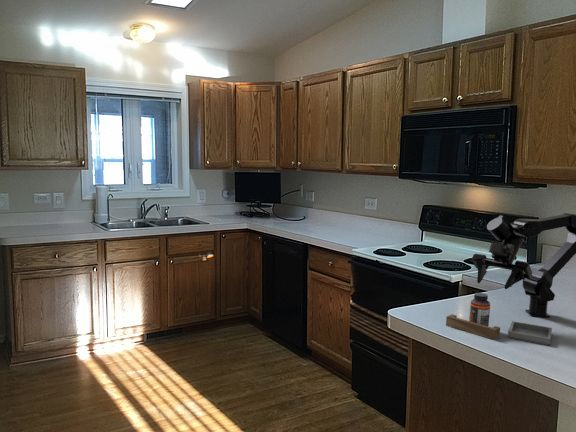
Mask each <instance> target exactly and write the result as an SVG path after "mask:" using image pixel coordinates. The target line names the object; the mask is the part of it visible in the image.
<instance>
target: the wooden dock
mask: <svg viewBox="0 0 576 432" xmlns="http://www.w3.org/2000/svg"><path fill="white" fill-rule="evenodd" d="M445 317H446V318H445V319H446V320H445V326H446V327H449V328H453V329H456V330H457V329H458V330H460V331H464V332H467V333H470V334H474V335H477V336H481V337H484V338H487V339H490V340H497V339H499V338H500V335H501V334H500V333H501V327H500V326H496V325H495V326H493V327H492V326H485V325H481V324H478V323H474V322H470V321H469V320H467V319H463V318H459V317H457V314H452V313H451V314H449V315H447V316H445ZM498 337H499V338H498Z"/></svg>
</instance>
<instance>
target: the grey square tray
mask: <svg viewBox="0 0 576 432" xmlns="http://www.w3.org/2000/svg"><path fill="white" fill-rule="evenodd" d="M552 331H553V328H552V327H548V326H543V325H538V324H530V323H525V322H520V321H519V322H518V321H514V320H512V321H511V323H510V326H509V328H508V330H507V339H508V338H509V339H512V338H513V340H517V339H519V340H518V341H523V340H524V342H528V343H529V342H530V343H533V342H534V344H539V345H544V346H551V341H552Z"/></svg>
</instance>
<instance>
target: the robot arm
mask: <svg viewBox="0 0 576 432" xmlns="http://www.w3.org/2000/svg"><path fill="white" fill-rule="evenodd" d="M564 227H565V229H566V230H567V232H568V233H567V238H566V241H565V242H564V243H563V244H562V246H561V247H560V248H559V249H557V251H556V252H555V253H554V254H553V255H552V256H551V257H550V258H549V260H548V261H546V263H545V264H544V265H543V266H542V267H541V268H540V269H534V268H531V265H530V264H529V263H530V262H527V261H523V260H522V261H521V260H517V259H518V257H517V255H518V253H519V250H520V248H526V247H527V243H526V242H525V239H524V238H522V237H525V238H533V237H536V236H538V235H540V234H541V233H542V232H544V231H549V230H554V229H559V228H564ZM486 229H487V230H488V232H490V233H491V234H492V236H493V237H494V238H495V239H496V240H497V241H502V243H498V242H491V243H490V246H489V250H488V253H491V258H492V259H488V258H487V255H486V254H482V253H474V254H473V255H472V257H471V261H472V263H473V264H474V267H475V269H476V270H477V277H476V280H477V281H476V282H477V284H480V283H481V282H482V281H483V279H484V277H485V276H486V274H487V272H488V268H489V267H495V268H498V269H504V270H509V271H510V272H511V273H510V275H509V276H508V278H507V280H506V282H505V285H504V289H505V290H508V289H509V288H510V287H512V286H513V285H515V284H517V283H518V282H520V281H522V288H523V290H524V293H525V295H527V296H530V297H529V306H528V309H525V312H526V313H527V314H528V315H529V316H531V317H539V318H540V317H541V318H551V315H550V314H549V313H548V303H549V302H551V301H554V300H555V297H556V294H555V293H554V292H553V290H552V289H551V288H552V286H553V281H554V278H555V277H556V275H558V273H559V272H561V270H562V269H563V268H564V267H565V266H566V265H567V264H568V263H569V262H570V260H571V259H572V258H573V257H574V256H575V255H576V213H575V214H574V213H569V212H568V213H567V212H566V213H563V214H558V215H553V216H548V217H543V218H542V217H541V218H537V219H535V218H534V219H532V218H517V219H515V220H514V221H513V222H510V221H508V219H507V217H505V216H504V215H501V214H500V215H499V216H497V217H495V218H494V219H492V220H490V221H489V222H488V223H487V225H486ZM514 261H515V262H514Z"/></svg>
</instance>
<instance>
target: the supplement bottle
mask: <svg viewBox="0 0 576 432" xmlns="http://www.w3.org/2000/svg"><path fill="white" fill-rule="evenodd" d="M488 297H489V295H488V294H487V293H483V292H475V293H474V296H473V299H471V301H470V307H469V320H468V321H470V322H474V323H478V324H481V325H485V326H488V327H490V326H489V324H490V313H491V302H490V301H489V300H488Z"/></svg>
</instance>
